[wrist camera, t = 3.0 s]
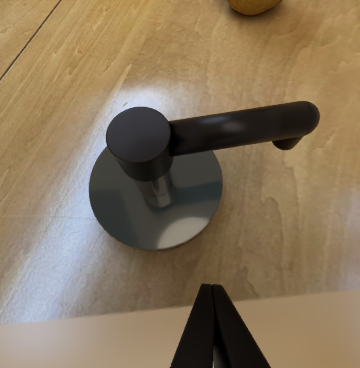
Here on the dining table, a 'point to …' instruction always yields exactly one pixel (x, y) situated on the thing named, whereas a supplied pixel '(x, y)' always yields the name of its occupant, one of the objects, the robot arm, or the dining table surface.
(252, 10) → the fruit
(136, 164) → the spout
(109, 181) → the faucet base
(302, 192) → the dining table surface
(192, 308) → the robot arm
